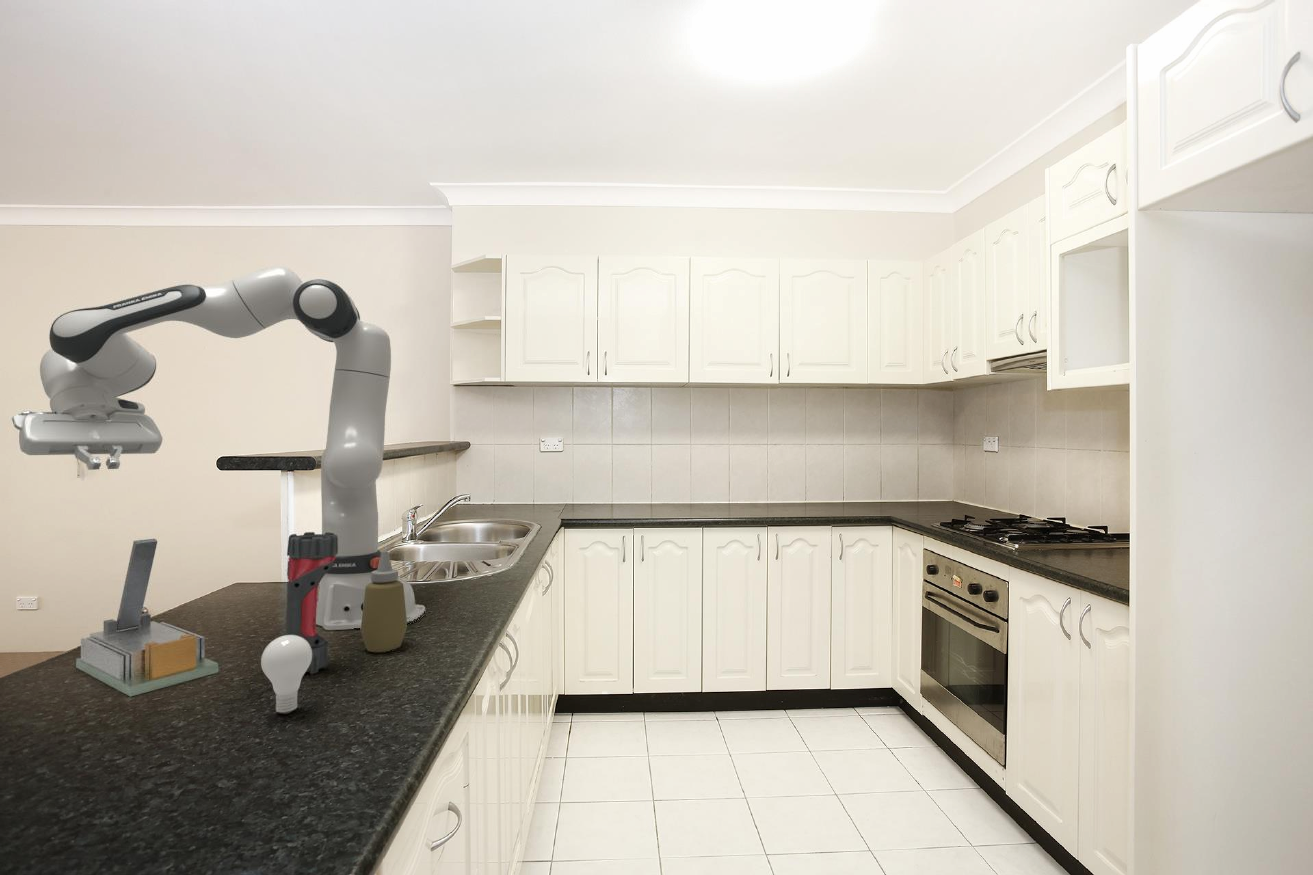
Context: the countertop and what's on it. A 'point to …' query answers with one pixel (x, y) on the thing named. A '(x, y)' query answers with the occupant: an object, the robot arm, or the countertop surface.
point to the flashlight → (308, 588)
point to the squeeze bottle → (384, 609)
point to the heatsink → (144, 656)
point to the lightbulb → (286, 668)
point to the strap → (136, 583)
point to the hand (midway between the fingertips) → (104, 467)
